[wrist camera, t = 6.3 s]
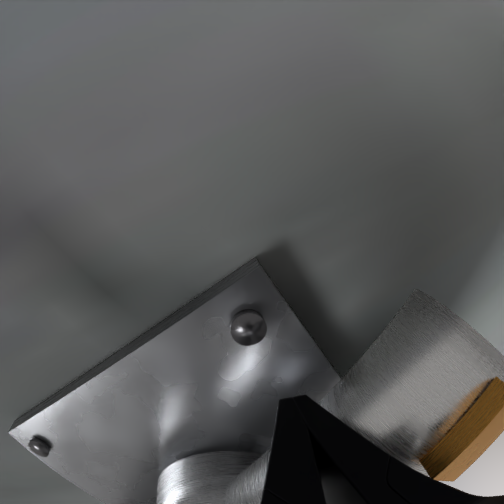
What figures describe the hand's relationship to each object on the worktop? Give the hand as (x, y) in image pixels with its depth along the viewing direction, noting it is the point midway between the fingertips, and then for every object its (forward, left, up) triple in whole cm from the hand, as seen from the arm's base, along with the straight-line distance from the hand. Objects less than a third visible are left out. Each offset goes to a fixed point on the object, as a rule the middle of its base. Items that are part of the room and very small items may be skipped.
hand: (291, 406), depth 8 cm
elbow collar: (-2, -5, -3) cm, 6 cm away
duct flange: (-7, -6, -4) cm, 10 cm away
